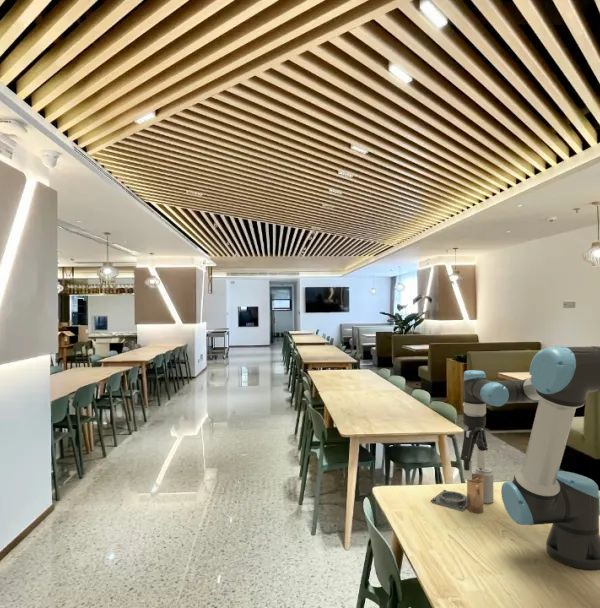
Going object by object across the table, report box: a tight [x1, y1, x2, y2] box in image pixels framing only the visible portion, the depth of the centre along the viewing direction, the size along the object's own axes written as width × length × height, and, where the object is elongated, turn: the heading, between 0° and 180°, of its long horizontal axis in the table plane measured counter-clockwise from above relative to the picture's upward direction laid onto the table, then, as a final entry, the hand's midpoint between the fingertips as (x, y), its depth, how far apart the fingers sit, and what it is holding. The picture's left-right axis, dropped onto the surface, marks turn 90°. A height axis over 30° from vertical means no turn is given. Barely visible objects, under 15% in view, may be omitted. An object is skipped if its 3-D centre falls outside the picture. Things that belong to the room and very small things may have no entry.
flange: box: [430, 489, 467, 512], centre depth 172 cm, size 12×12×2 cm
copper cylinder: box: [466, 473, 484, 514], centre depth 165 cm, size 6×6×12 cm
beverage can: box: [474, 466, 494, 505], centre depth 172 cm, size 6×6×12 cm
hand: (474, 473), depth 165 cm, fingers open, 13 cm apart
